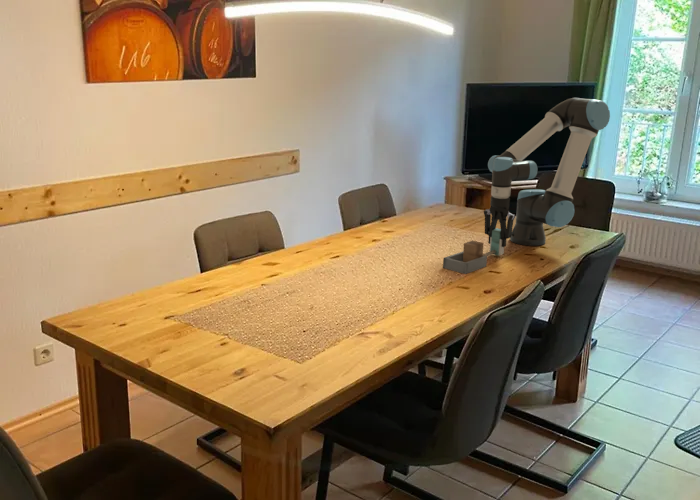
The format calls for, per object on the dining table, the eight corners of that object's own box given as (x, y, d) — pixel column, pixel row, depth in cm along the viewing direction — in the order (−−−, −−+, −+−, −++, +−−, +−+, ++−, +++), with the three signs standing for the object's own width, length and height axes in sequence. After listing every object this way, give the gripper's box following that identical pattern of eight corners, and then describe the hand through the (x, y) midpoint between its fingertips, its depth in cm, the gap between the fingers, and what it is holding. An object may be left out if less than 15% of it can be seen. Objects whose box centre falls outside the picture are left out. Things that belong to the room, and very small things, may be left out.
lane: (463, 260, 274) (464, 250, 273) (486, 266, 267) (487, 256, 266) (442, 267, 264) (443, 257, 263) (465, 274, 257) (466, 263, 256)
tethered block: (493, 251, 284) (495, 227, 281) (504, 253, 280) (506, 230, 278) (462, 263, 268) (464, 238, 265) (473, 266, 265) (475, 240, 262)
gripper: (477, 194, 277) (474, 250, 284) (514, 201, 266) (509, 259, 273) (487, 192, 282) (484, 247, 289) (523, 198, 271) (519, 255, 278)
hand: (496, 252), depth 281 cm, fingers closed on tethered block, 3 cm apart
